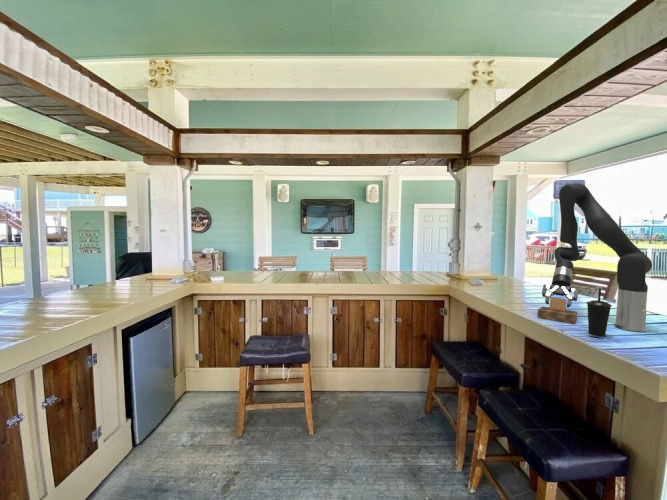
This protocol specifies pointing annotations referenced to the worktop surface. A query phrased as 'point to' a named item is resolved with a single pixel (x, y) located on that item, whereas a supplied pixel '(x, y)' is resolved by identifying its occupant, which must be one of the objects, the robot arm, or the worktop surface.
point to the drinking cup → (598, 316)
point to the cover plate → (557, 304)
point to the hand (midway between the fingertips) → (557, 304)
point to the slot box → (557, 315)
